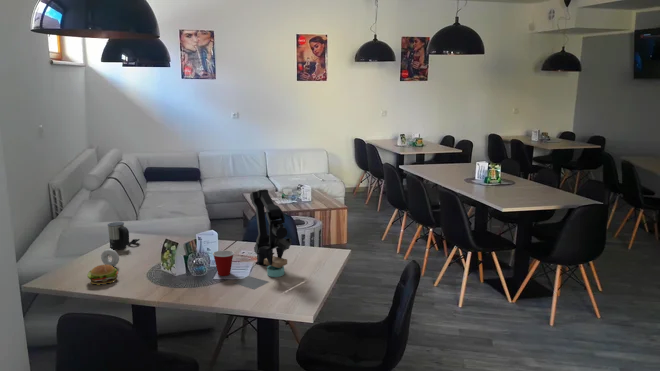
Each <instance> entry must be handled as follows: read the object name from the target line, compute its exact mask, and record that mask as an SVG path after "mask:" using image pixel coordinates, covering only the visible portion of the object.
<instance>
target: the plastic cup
mask: <svg viewBox="0 0 660 371" xmlns="http://www.w3.org/2000/svg"><path fill="white" fill-rule="evenodd" d="M212 255H213V258H214V262H215V266H216V271H217V275H218V276H220V277H227V276H230V274H231V271H232V270H231V269H232V263H233V257H234V255H235V252H234V251H233V250H217V251H213V253H212Z"/></svg>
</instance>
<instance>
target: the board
mask: <svg viewBox="0 0 660 371" xmlns="http://www.w3.org/2000/svg"><path fill="white" fill-rule="evenodd" d="M264 264H266V265H265V266H274V267H278V268H280V267H282V266H284V267H285V266H286V265H288V259H286V258H283V257H282V258H279V257H278V256H274V255H273V259H272V265H270V264H269V262H268V260H267V258H266V259H264Z"/></svg>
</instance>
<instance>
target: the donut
mask: <svg viewBox="0 0 660 371" xmlns="http://www.w3.org/2000/svg"><path fill="white" fill-rule="evenodd" d="M109 256H110V257H111V260H110V259H109ZM100 258H101V261H102V264H103V265H111V266H114V267H116V266H117V265H118V264H119V261H120V255H119V253H118V252H117V250H113V249H110V248H106V249H104V250H103V251H102V252H101V255H100Z"/></svg>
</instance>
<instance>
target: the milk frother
mask: <svg viewBox="0 0 660 371" xmlns="http://www.w3.org/2000/svg"><path fill="white" fill-rule="evenodd" d="M107 228H108V230H107V231H108V239H109V249H110V248H111V249H118V250H123V249H126V248H127V246H129V245H131V244H136V243H138V242H139V241H140V240H141V239H140V238H138V239H137V238H134V239H131V241H130V231H129V229H128V228H127V227H126V226H125V222H123V221H114V222H109V223H107Z"/></svg>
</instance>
